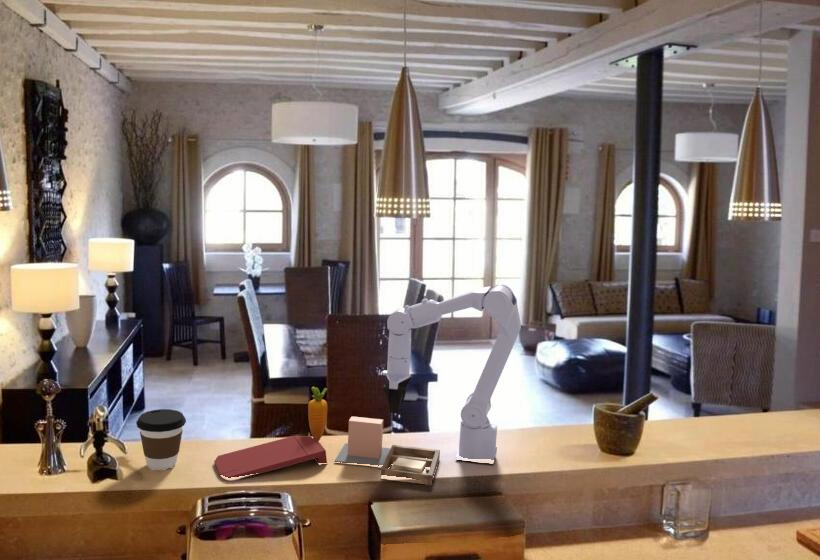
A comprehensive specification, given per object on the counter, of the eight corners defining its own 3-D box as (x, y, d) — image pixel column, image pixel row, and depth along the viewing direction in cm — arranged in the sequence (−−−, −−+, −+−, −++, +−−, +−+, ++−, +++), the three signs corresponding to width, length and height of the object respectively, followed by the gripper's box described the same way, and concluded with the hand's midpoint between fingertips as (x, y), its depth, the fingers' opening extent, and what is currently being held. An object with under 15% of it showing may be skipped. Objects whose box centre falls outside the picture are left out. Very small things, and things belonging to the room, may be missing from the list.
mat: (391, 450, 198) (391, 448, 198) (383, 468, 187) (383, 466, 187) (345, 445, 200) (345, 443, 200) (334, 463, 189) (334, 460, 189)
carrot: (328, 439, 203) (330, 384, 200) (324, 446, 198) (326, 390, 195) (309, 437, 203) (311, 382, 201) (304, 445, 199) (306, 388, 196)
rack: (439, 459, 194) (439, 450, 194) (431, 485, 180) (432, 475, 179) (391, 454, 196) (392, 444, 196) (380, 479, 181) (380, 469, 181)
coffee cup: (130, 461, 184) (129, 413, 182) (175, 452, 190) (175, 405, 188) (146, 479, 175) (145, 428, 173) (193, 468, 182) (193, 419, 180)
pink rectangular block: (381, 453, 194) (383, 419, 193) (379, 458, 191) (381, 424, 190) (350, 450, 195) (351, 416, 194) (347, 455, 192) (348, 420, 191)
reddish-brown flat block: (225, 498, 177) (329, 468, 186) (222, 478, 176) (327, 449, 185) (215, 475, 188) (314, 448, 197) (212, 457, 187) (312, 430, 196)
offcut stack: (426, 474, 186) (427, 460, 185) (422, 483, 181) (423, 469, 180) (393, 470, 187) (394, 456, 187) (388, 479, 183) (389, 464, 182)
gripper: (388, 347, 204) (386, 396, 207) (378, 362, 190) (375, 415, 193) (415, 349, 204) (412, 399, 206) (406, 365, 189) (403, 418, 192)
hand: (396, 407), depth 199 cm, fingers open, 7 cm apart
